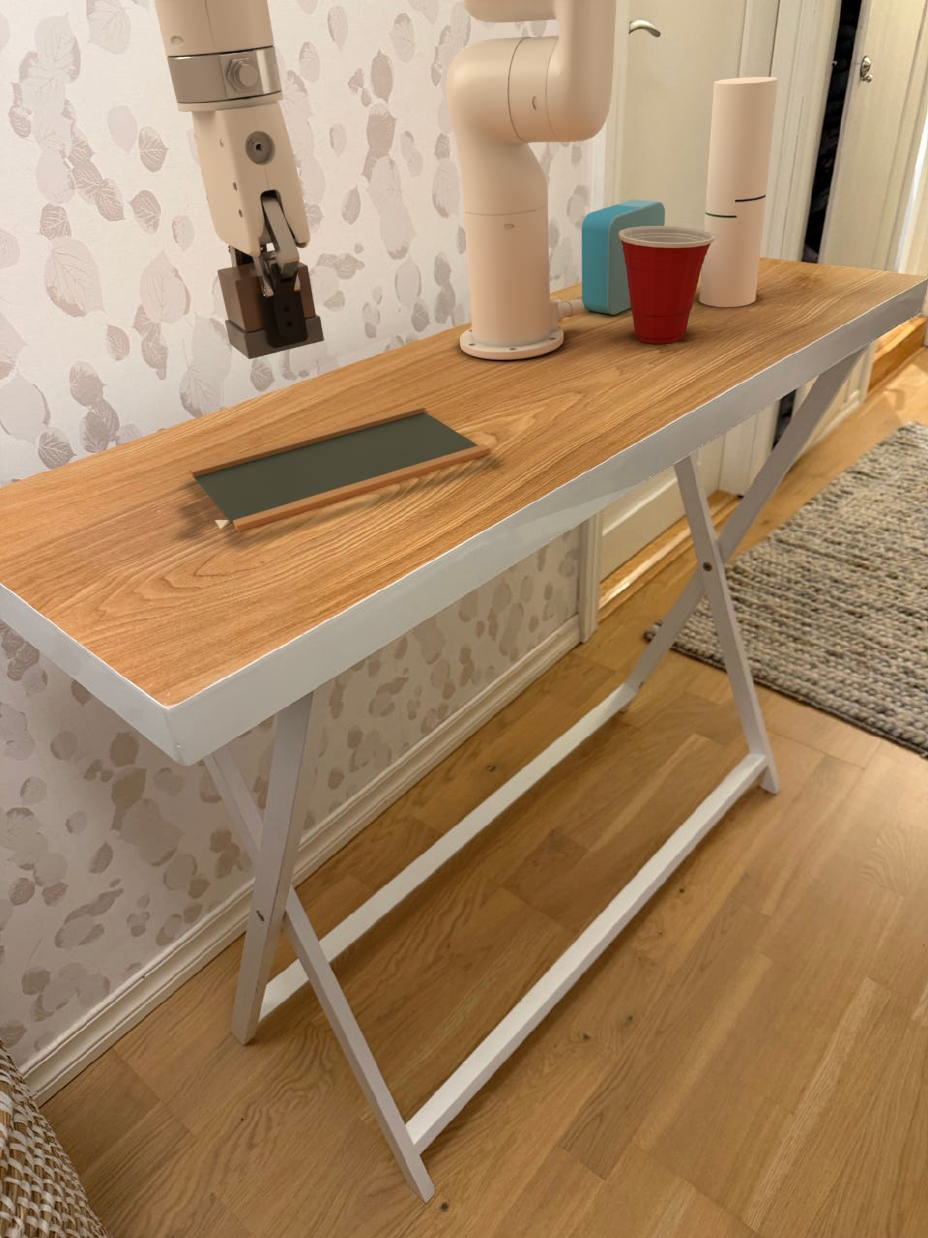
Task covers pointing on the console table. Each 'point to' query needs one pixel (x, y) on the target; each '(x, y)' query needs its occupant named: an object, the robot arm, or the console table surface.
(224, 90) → the robot arm
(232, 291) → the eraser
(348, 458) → the chalkboard
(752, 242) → the cylindrical container
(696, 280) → the plastic cup
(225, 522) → the chalk streak
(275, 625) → the console table surface
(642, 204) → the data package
